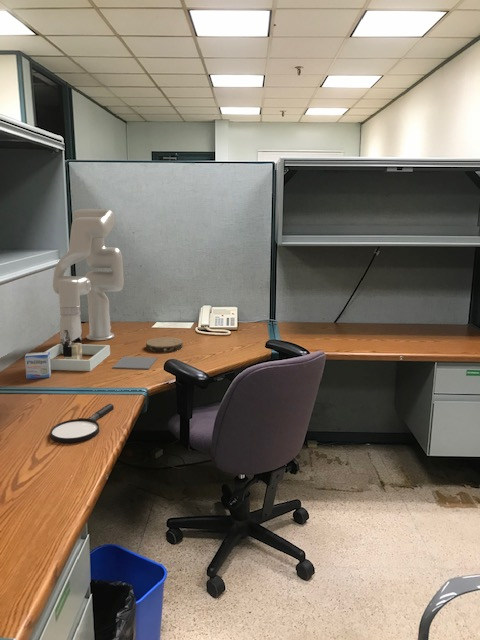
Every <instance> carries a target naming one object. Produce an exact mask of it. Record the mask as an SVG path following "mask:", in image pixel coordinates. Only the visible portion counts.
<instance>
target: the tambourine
mask: <svg viewBox="0 0 480 640" xmlns="http://www.w3.org/2000/svg"><path fill="white" fill-rule="evenodd" d="M145 343H146V344H145V346H146V347H145V349H146V350H147V351H148V352H152V353H165V354H166V353H173V352H178V351H180V350H182V349H183V348H182V347H184V346H183V339H180V338H177V337H173V336H171V337H169V336H165V337H164V336H163V337H154V338H150V339H148V340H146V341H145ZM181 348H182V349H181ZM177 350H178V351H177Z"/></svg>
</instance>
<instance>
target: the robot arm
mask: <svg viewBox="0 0 480 640" xmlns="http://www.w3.org/2000/svg"><path fill="white" fill-rule="evenodd" d="M71 222H72V223H71V227H70V228H71V229H70V237H69V243H68V244H69V245H68V250H67V252H66V253H65V254H64V255H63V256H62V257H61V258H60V259H59V261H58V262H57V264H56V265H55V268H54V272H53V280H52V288H53V291H54V293H55V294H56V295H59V296H58V299H59V313H60V320H59V336H60V342H61V344H62V347H63V354H62V356H63V357H64V358H65V357H72V347H70V346H71V343H81V344H83V342H82V341H83V338H82V336H83V333H82V332H83V331H82V330H83V328H82V322H81V321H82V320H81V315H82V313H81V311H82V310H81V298H80V297H81V296H85V295H86V296H87V309H88V310H87V311H88V323H89V325H88V327H89V328H88V329H89V333H88V334H86V339H87V340H89V341H107V340H110V339H111V340H112V339H113V338H115V334H114V333H113V332H111V329H112V326H111V318H110V317H111V315H110V300H109V298H108V296H107V295H106V293H105V292H121V291H122V290H123V288H124V283H125V280H124V265H123V264H124V262H123V254H122V252H121V250H120V249H119V248H118V247H114V246H108V247H107V246H106V245H105V244H106V243H105V238H107V237H108V235H109V234H110V232H111V231H112V230H113V227H114V226H115V222H116V218H115V213H114V212H113V211H112V210H111V209H108V208H107V209H104V208H103V209H101V208H98V209H97V208H81V209H77V210H75V211H74V212H73V221H71ZM83 260H86V265H87V266H88V267H90V268H93V269H111V270H91V271H88V272H86V274H85V275H84V276H80V275H79V276H78V275H77V276H75V275H74V276H72V275H71V276H70V275H69V276H68V275H65V273H66V271H67V270H68V269H69V268H70V267H71V266H73V265H74V264H77V263H79V262H81V261H83Z"/></svg>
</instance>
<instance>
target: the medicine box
mask: <svg viewBox="0 0 480 640" xmlns="http://www.w3.org/2000/svg"><path fill="white" fill-rule="evenodd" d="M24 363H25V364H24V365H25V376H26V377H25V378H26V380H35V379H36V380H37V379H48V378H49V379H50V377H51V374H52V370H51V368H50V353H49V352H45V351H44V352H26V354H25V356H24Z"/></svg>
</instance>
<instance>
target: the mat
mask: <svg viewBox="0 0 480 640" xmlns="http://www.w3.org/2000/svg"><path fill="white" fill-rule="evenodd" d="M157 360H158V357H149V356H148V357H147V356H145V357H144V356H123V357H121V359H119V360H118V361H117V362H116V363H115V364H114V365H113V366H112V367H111V368H112V369H121V370H122V369H124V370H149V369H151V367H152V366H153V365H154V363H155V362H156V361H157Z"/></svg>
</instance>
